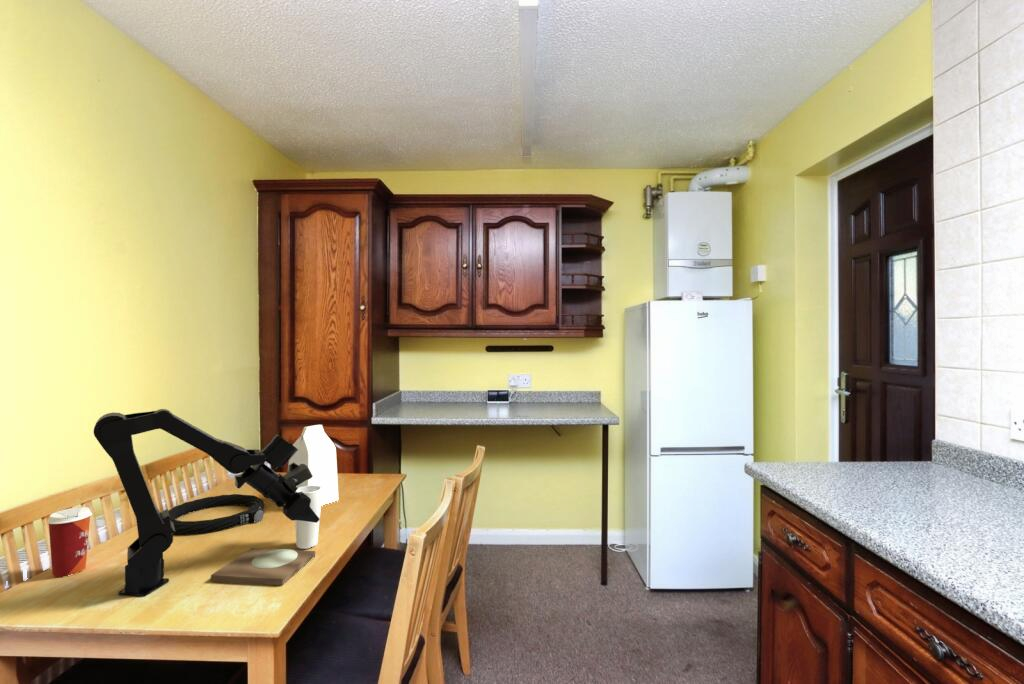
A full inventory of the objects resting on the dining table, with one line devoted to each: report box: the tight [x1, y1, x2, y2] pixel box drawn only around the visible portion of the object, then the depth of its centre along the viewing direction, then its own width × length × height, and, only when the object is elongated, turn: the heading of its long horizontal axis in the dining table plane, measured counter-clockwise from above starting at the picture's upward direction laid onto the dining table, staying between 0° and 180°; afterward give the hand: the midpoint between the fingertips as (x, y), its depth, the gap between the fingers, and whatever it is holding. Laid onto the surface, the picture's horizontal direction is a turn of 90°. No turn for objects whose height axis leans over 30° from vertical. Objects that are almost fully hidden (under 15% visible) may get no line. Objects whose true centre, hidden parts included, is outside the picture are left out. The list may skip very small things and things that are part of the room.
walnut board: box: [210, 547, 316, 586], centre depth 110 cm, size 14×17×2 cm
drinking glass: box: [294, 486, 322, 550], centre depth 123 cm, size 7×7×15 cm
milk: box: [287, 424, 340, 507], centre depth 156 cm, size 12×12×26 cm
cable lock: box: [168, 493, 266, 535], centre depth 142 cm, size 28×4×30 cm
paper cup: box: [46, 506, 93, 578], centre depth 109 cm, size 8×8×14 cm
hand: (312, 515), depth 124 cm, fingers open, 9 cm apart
